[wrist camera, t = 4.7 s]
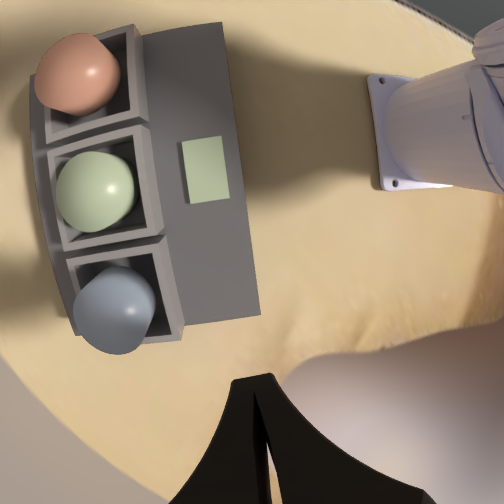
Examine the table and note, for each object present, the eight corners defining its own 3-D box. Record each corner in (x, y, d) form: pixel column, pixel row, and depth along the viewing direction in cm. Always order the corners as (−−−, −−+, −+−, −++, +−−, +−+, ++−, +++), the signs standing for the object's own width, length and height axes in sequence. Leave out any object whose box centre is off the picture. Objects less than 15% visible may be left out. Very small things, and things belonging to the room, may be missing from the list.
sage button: (134, 146, 14) (118, 142, 11) (144, 216, 15) (131, 224, 12) (73, 162, 14) (51, 162, 11) (84, 228, 15) (63, 238, 12)
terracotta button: (120, 41, 11) (104, 22, 9) (123, 105, 12) (105, 94, 10) (58, 63, 11) (35, 50, 9) (59, 124, 12) (34, 119, 10)
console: (221, 39, 15) (222, 4, 11) (256, 297, 20) (265, 331, 15) (48, 84, 15) (12, 68, 10) (88, 318, 19) (63, 351, 15)
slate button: (146, 260, 14) (133, 277, 12) (163, 326, 15) (155, 352, 13) (83, 270, 14) (63, 287, 12) (102, 332, 15) (87, 356, 13)
